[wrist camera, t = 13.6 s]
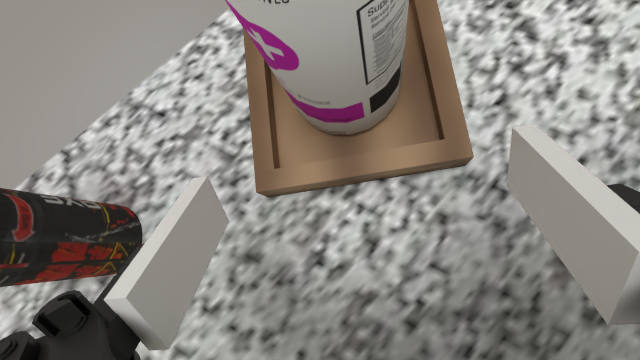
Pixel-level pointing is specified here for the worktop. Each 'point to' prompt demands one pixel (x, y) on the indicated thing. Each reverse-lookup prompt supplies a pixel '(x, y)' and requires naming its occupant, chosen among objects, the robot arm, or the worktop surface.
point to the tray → (369, 145)
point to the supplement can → (332, 56)
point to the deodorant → (62, 238)
